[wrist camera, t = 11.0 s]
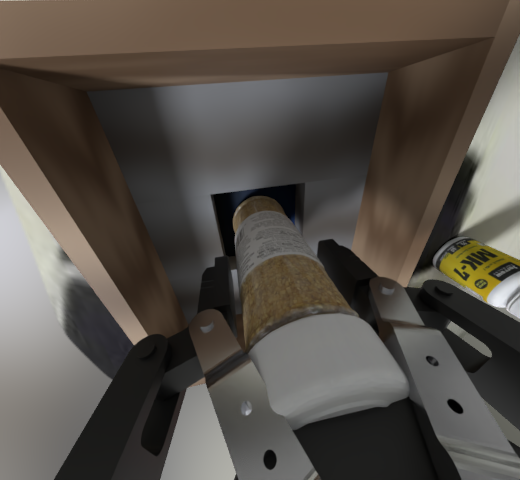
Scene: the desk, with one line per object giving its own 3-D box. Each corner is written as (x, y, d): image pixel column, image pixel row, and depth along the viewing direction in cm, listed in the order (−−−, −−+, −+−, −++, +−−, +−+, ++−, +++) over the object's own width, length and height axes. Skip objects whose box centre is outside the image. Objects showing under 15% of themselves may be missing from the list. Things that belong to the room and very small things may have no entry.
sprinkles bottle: (269, 248, 18) (345, 458, 7) (223, 232, 16) (219, 472, 5) (294, 206, 16) (459, 393, 5) (245, 183, 15) (318, 382, 3)
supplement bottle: (457, 229, 21) (576, 280, 14) (476, 243, 23) (590, 294, 16) (423, 262, 23) (513, 322, 16) (443, 272, 25) (533, 330, 18)
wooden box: (78, 75, 10) (-120, 2, 4) (383, 58, 12) (537, -8, 6) (183, 315, 21) (168, 391, 15) (339, 285, 23) (381, 342, 17)
